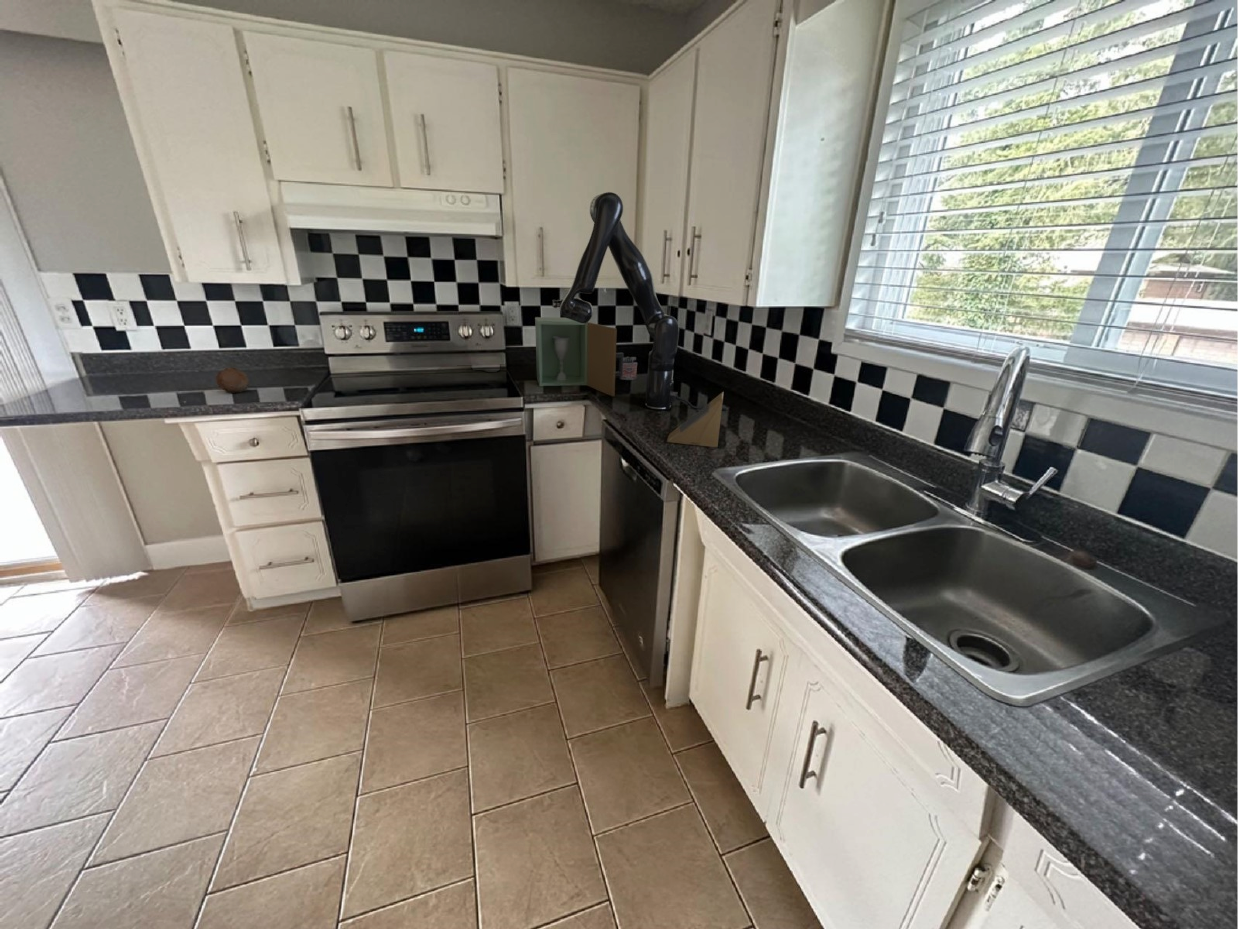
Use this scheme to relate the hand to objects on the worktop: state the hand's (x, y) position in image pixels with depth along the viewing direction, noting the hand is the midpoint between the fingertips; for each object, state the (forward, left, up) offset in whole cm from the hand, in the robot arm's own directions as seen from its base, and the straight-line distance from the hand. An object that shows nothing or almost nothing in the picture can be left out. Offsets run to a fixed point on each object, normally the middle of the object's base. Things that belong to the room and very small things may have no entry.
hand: (570, 303), depth 194 cm
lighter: (-17, -28, -34) cm, 47 cm away
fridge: (+8, -10, -34) cm, 36 cm away
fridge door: (-14, -4, -34) cm, 37 cm away
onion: (+111, +56, -34) cm, 129 cm away
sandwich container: (-58, +44, -34) cm, 80 cm away
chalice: (+8, -10, -33) cm, 35 cm away
